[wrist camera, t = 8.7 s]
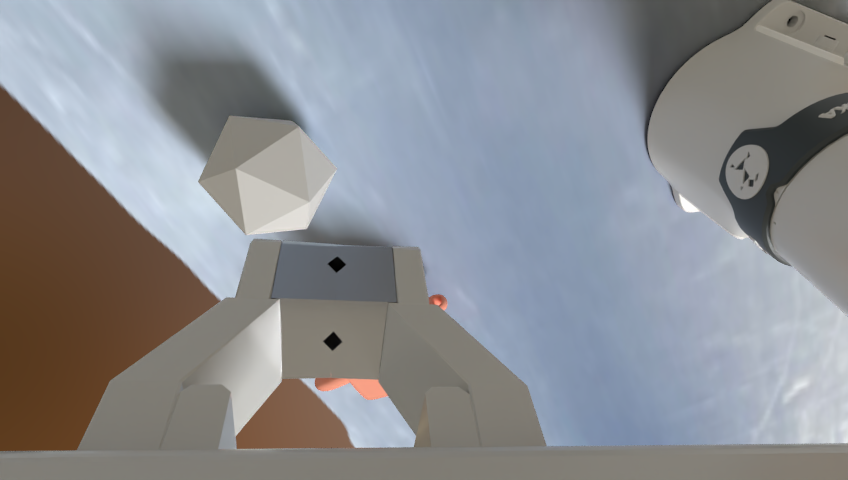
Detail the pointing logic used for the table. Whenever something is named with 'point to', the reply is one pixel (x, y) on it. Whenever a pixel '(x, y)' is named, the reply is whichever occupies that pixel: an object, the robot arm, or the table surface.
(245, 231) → the die
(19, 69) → the table surface
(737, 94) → the robot arm
